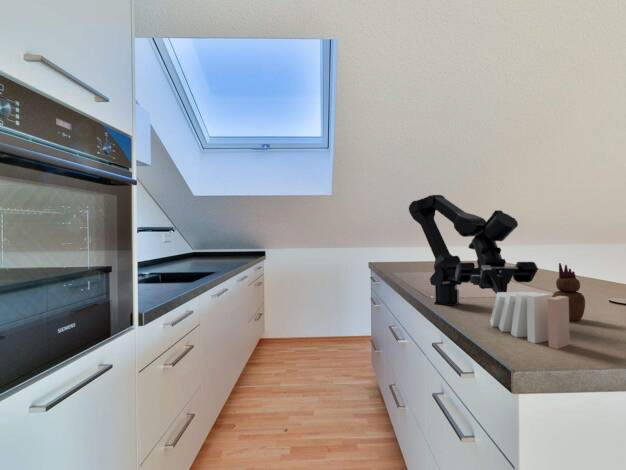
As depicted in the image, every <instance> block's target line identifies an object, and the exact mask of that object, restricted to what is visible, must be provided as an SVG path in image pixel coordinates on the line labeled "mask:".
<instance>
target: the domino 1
mask: <svg viewBox="0 0 626 470" xmlns="http://www.w3.org/2000/svg"><path fill="white" fill-rule="evenodd" d="M505 296H506V292H497V294H496V295H495V300H494V304H493V308H492V312H491V315H490V320H489V323H490V325H491V327H492V328H499V323H500V319H501V314H502V310H503V305H504V301H505Z"/></svg>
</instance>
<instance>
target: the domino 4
mask: <svg viewBox="0 0 626 470" xmlns="http://www.w3.org/2000/svg"><path fill="white" fill-rule="evenodd" d="M548 298H552V297H551V294H549V293H544V292H543V293H540V294H534V295H527V333H528V336H527V342H530V343H533V344H539V343H544V342H549V336H548Z"/></svg>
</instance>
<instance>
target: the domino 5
mask: <svg viewBox="0 0 626 470" xmlns="http://www.w3.org/2000/svg"><path fill="white" fill-rule="evenodd" d="M548 336H549V341H548V348H552V349H556V350H560V349H562V348H564V347H566V346H567V347H568V346H570V344H571V343H570V341H571V340H570V321H569V297H566V296H556V297H551V298H548Z"/></svg>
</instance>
